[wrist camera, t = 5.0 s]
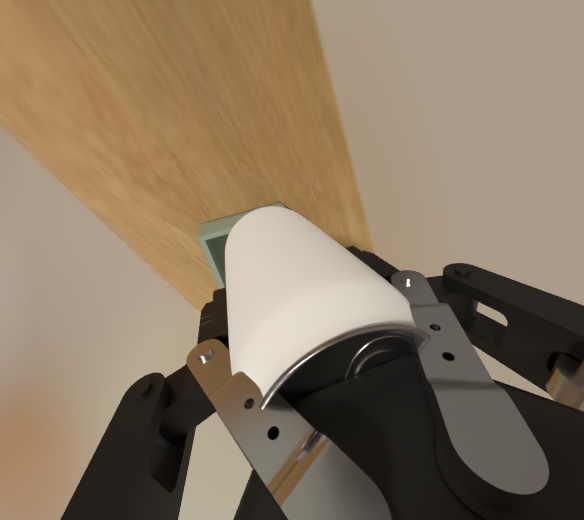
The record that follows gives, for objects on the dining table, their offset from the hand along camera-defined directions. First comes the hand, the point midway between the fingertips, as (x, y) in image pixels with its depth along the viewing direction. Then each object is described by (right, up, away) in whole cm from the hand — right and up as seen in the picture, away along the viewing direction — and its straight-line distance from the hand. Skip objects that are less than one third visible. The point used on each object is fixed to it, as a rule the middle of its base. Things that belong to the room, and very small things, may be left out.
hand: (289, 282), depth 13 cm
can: (-1, +2, +4) cm, 5 cm away
